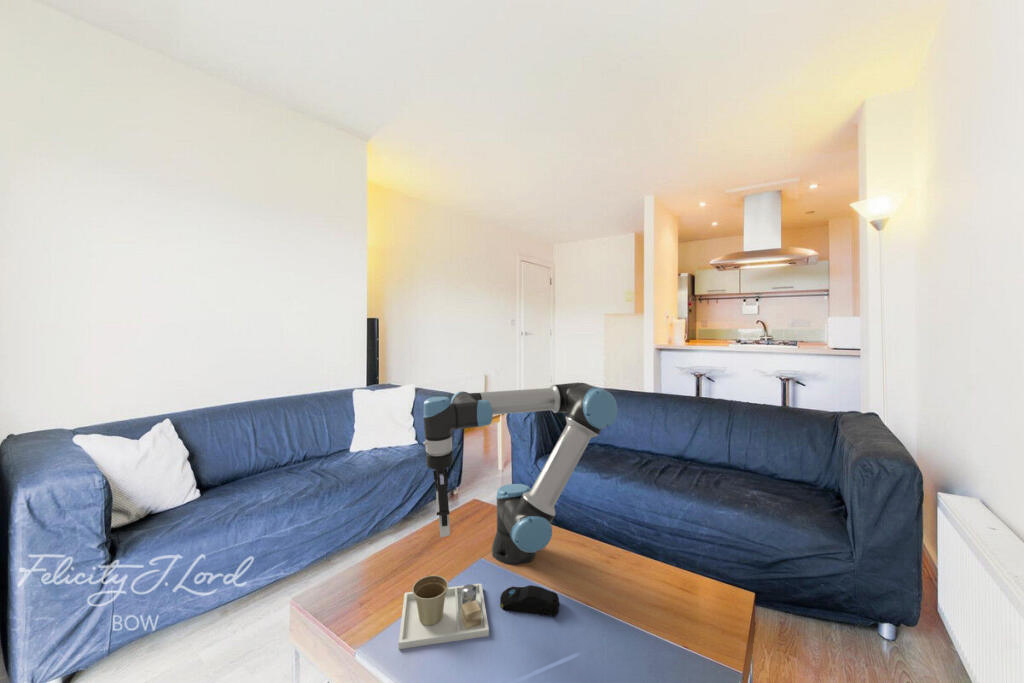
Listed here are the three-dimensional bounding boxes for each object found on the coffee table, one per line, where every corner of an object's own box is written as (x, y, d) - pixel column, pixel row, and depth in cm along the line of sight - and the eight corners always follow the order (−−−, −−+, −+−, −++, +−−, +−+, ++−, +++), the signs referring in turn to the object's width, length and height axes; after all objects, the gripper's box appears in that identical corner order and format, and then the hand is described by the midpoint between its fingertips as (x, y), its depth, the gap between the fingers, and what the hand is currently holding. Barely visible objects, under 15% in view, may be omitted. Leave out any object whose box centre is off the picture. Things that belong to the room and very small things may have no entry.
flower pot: (441, 633, 102) (440, 601, 101) (406, 628, 104) (405, 596, 103) (453, 607, 111) (453, 577, 111) (421, 602, 113) (421, 573, 112)
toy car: (503, 594, 118) (503, 578, 117) (560, 601, 114) (560, 584, 114) (497, 613, 110) (497, 595, 110) (558, 621, 107) (558, 603, 107)
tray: (481, 590, 119) (481, 583, 119) (488, 638, 101) (488, 629, 101) (404, 600, 115) (404, 592, 115) (398, 651, 97) (398, 642, 97)
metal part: (470, 596, 116) (470, 582, 116) (479, 602, 113) (479, 588, 113) (459, 602, 113) (459, 588, 113) (468, 609, 110) (468, 595, 110)
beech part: (475, 614, 109) (475, 600, 108) (481, 624, 105) (480, 609, 105) (461, 619, 107) (461, 604, 107) (466, 629, 103) (466, 614, 103)
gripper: (424, 440, 126) (428, 505, 128) (427, 469, 102) (432, 549, 103) (448, 437, 128) (452, 501, 129) (456, 465, 104) (461, 544, 105)
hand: (443, 523), depth 116 cm, fingers open, 13 cm apart
